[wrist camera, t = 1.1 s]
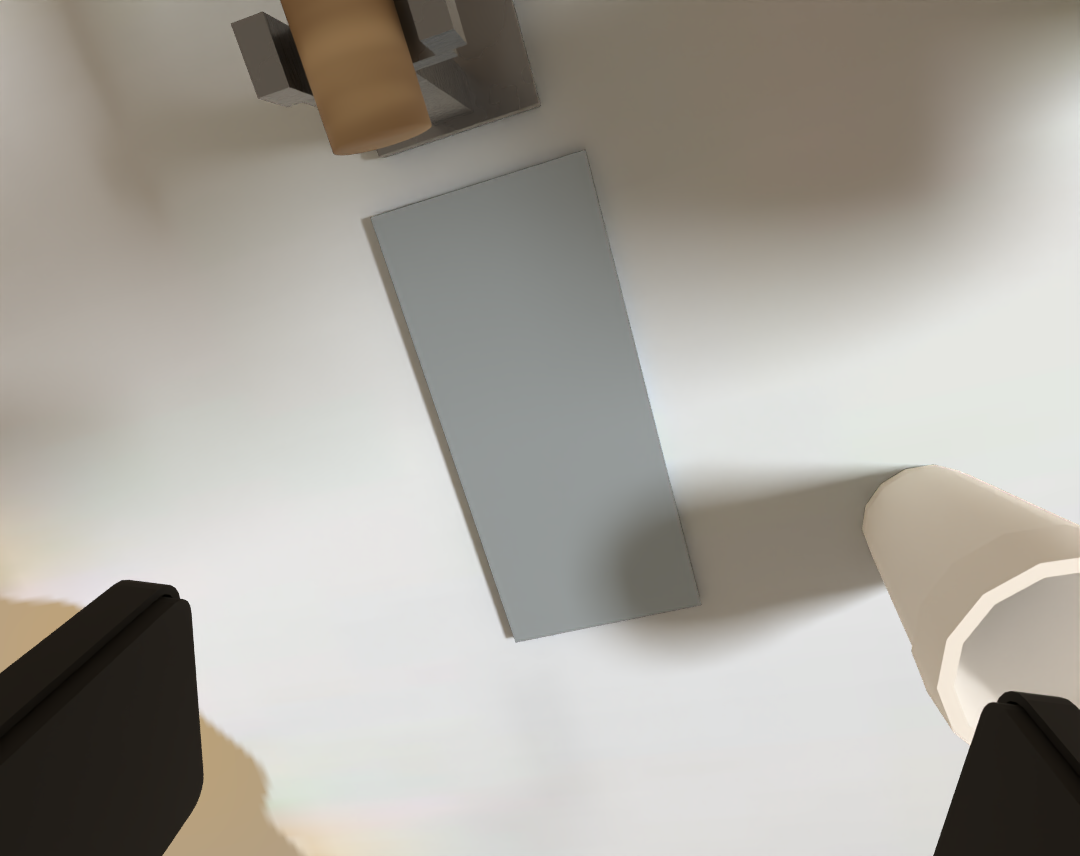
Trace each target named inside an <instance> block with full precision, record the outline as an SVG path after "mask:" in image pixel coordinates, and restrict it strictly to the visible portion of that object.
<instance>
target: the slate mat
mask: <svg viewBox="0 0 1080 856" xmlns="http://www.w3.org/2000/svg"><path fill="white" fill-rule="evenodd" d="M371 221H372V223H373V226H374V229H375V232H376V235H377V238H378V241H379V244H380V247H381V250H382V253H383V256H384V259H385V262H386V264H387V267H388V270H389V273H390V276H391V279H392V282H393V285H394V288H395V291H396V294H397V297H398V300H399V303H400V305H401V308H402V311H403V314H404V317H405V320H406V323H407V326H408V329H409V332H410V335H411V338H412V341H413V343H414V346H415V349H416V352H417V355H418V358H419V361H420V364H421V367H422V370H423V373H424V376H425V379H426V382H427V384H428V387H429V390H430V393H431V396H432V399H433V402H434V405H435V408H436V411H437V414H438V417H439V420H440V423H441V425H442V428H443V431H444V434H445V437H446V440H447V443H448V446H449V449H450V452H451V455H452V458H453V461H454V463H455V466H456V469H457V472H458V475H459V478H460V481H461V484H462V487H463V490H464V493H465V496H466V499H467V502H468V504H469V507H470V510H471V513H472V516H473V519H474V522H475V525H476V528H477V531H478V534H479V537H480V540H481V543H482V545H483V548H484V551H485V554H486V557H487V560H488V563H489V566H490V569H491V572H492V575H493V578H494V581H495V584H496V586H497V589H498V592H499V595H500V598H501V601H502V604H503V607H504V610H505V613H506V616H507V619H508V622H509V624H510V627H511V630H512V633H513V636H514V639H515V642H521V641H526V640H531V639H536V638H541V637H546V636H551V635H556V634H561V633H565V632H570V631H575V630H580V629H585V628H590V627H595V626H600V625H605V624H610V623H615V622H620V621H625V620H630V619H635V618H640V617H645V616H649V615H654V614H659V613H664V612H669V611H674V610H679V609H684V608H689V607H694V606H699V605H701V602H700V598H699V594H698V590H697V586H696V582H695V578H694V574H693V570H692V566H691V562H690V559H689V555H688V551H687V547H686V543H685V539H684V535H683V531H682V527H681V523H680V519H679V515H678V512H677V508H676V504H675V500H674V496H673V492H672V488H671V484H670V480H669V476H668V472H667V468H666V464H665V461H664V457H663V453H662V449H661V445H660V441H659V437H658V433H657V429H656V425H655V421H654V417H653V414H652V410H651V406H650V402H649V398H648V394H647V390H646V386H645V382H644V378H643V374H642V370H641V366H640V363H639V359H638V355H637V351H636V347H635V343H634V339H633V335H632V331H631V327H630V323H629V319H628V316H627V312H626V308H625V304H624V300H623V296H622V292H621V288H620V284H619V280H618V276H617V272H616V269H615V265H614V261H613V257H612V253H611V249H610V245H609V241H608V237H607V233H606V229H605V225H604V221H603V218H602V214H601V210H600V206H599V202H598V198H597V194H596V190H595V186H594V182H593V178H592V174H591V171H590V167H589V163H588V159H587V155H586V151H585V150H583V151H579V152H576V153H573V154H570V155H567V156H564V157H560V158H557V159H554V160H551V161H548V162H545V163H542V164H538V165H535V166H532V167H529V168H526V169H523V170H519V171H516V172H513V173H510V174H507V175H504V176H500V177H497V178H494V179H491V180H488V181H485V182H481V183H478V184H475V185H472V186H469V187H466V188H462V189H459V190H456V191H453V192H450V193H447V194H443V195H440V196H437V197H434V198H431V199H428V200H424V201H421V202H418V203H415V204H412V205H409V206H405V207H402V208H399V209H396V210H393V211H390V212H386V213H383V214H380V215H377V216H374V217H371Z"/></svg>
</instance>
